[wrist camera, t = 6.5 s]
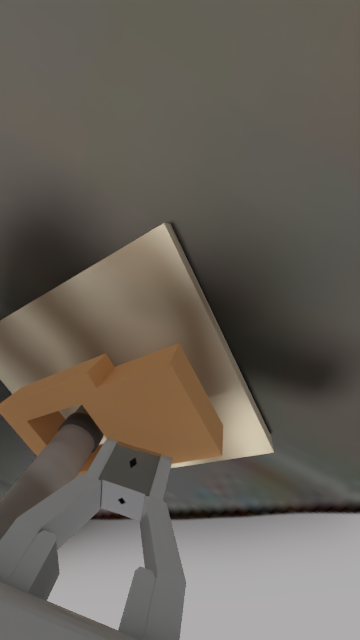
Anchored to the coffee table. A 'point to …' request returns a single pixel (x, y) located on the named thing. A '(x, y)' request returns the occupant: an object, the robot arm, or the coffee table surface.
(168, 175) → the coffee table surface
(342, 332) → the coffee table surface
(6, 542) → the robot arm
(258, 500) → the coffee table surface
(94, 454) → the collar
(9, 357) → the pipe stand
